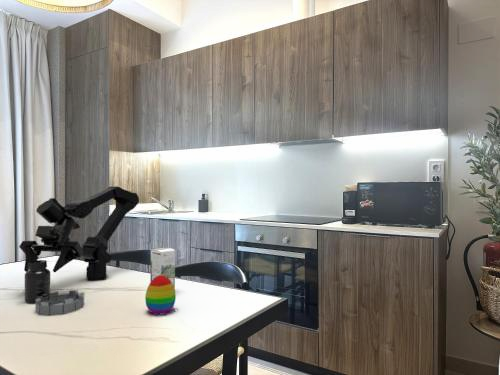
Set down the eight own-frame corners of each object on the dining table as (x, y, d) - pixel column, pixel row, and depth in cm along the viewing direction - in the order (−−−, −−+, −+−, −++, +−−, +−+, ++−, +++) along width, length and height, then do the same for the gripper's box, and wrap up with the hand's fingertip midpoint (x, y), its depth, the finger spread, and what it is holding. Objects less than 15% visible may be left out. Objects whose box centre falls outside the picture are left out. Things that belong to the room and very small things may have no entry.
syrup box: (164, 289, 118) (164, 247, 119) (175, 293, 115) (175, 248, 115) (149, 293, 114) (150, 249, 114) (161, 297, 110) (161, 251, 110)
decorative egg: (181, 311, 97) (181, 275, 97) (153, 318, 92) (153, 280, 92) (166, 304, 103) (166, 270, 103) (140, 310, 98) (140, 274, 98)
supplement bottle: (19, 302, 106) (19, 262, 106) (41, 295, 112) (42, 258, 112) (32, 305, 103) (33, 264, 103) (55, 299, 109) (55, 260, 109)
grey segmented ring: (86, 299, 108) (86, 288, 108) (80, 312, 97) (80, 299, 97) (41, 303, 104) (41, 291, 104) (31, 317, 93) (31, 304, 93)
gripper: (23, 216, 114) (-4, 255, 103) (78, 216, 113) (57, 256, 102) (39, 237, 122) (15, 276, 111) (90, 237, 121) (72, 277, 110)
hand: (39, 271), depth 108 cm, fingers open, 9 cm apart
